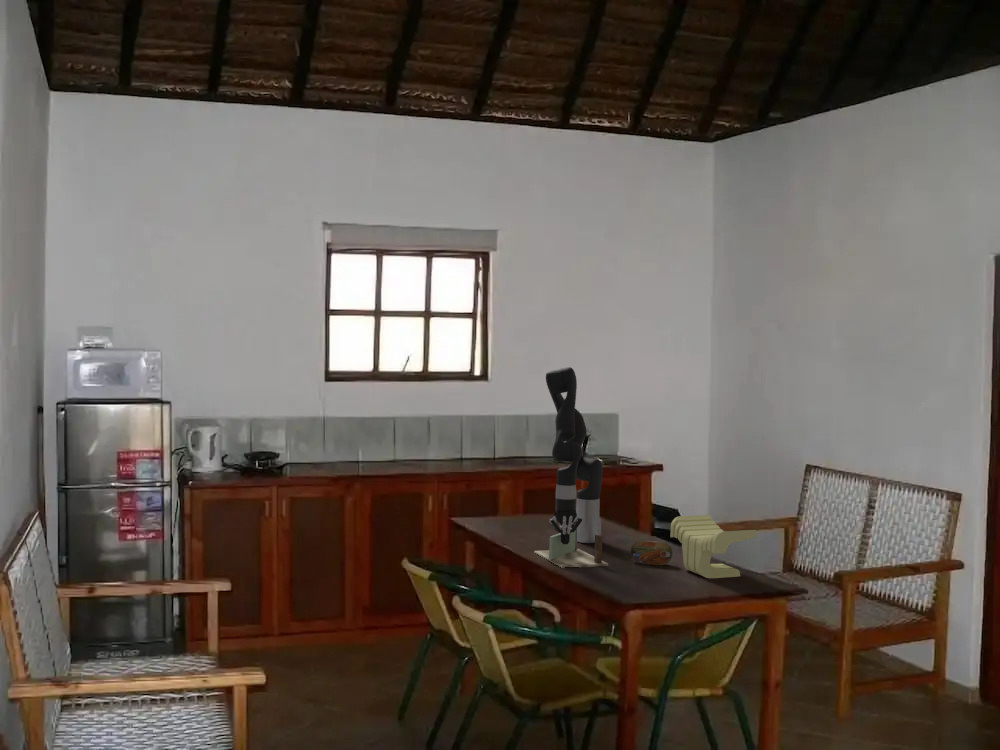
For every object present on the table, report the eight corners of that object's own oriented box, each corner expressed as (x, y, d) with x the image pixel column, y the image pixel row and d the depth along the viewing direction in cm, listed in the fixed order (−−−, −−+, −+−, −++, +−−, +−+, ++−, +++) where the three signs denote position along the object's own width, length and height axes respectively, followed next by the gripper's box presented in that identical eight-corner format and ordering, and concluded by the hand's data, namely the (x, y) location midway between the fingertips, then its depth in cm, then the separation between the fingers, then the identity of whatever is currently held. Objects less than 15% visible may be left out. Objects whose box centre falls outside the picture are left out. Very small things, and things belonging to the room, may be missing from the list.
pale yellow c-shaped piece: (669, 565, 394) (670, 516, 393) (708, 563, 400) (709, 514, 399) (713, 584, 366) (715, 531, 365) (754, 581, 372) (756, 529, 371)
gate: (577, 549, 413) (578, 527, 413) (552, 559, 395) (553, 536, 395) (573, 549, 414) (574, 527, 413) (548, 558, 396) (549, 535, 396)
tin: (630, 562, 398) (630, 539, 398) (632, 561, 401) (632, 538, 400) (671, 566, 393) (671, 543, 392) (672, 565, 396) (673, 541, 395)
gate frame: (578, 550, 417) (578, 522, 417) (608, 565, 392) (608, 535, 391) (534, 553, 411) (534, 524, 411) (561, 568, 386) (562, 538, 385)
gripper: (578, 494, 404) (577, 541, 405) (545, 495, 400) (544, 543, 401) (586, 497, 397) (585, 545, 398) (553, 499, 393) (552, 547, 394)
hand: (565, 543), depth 399 cm, fingers closed
